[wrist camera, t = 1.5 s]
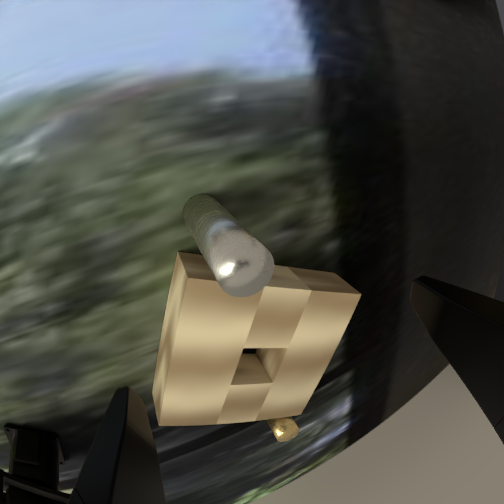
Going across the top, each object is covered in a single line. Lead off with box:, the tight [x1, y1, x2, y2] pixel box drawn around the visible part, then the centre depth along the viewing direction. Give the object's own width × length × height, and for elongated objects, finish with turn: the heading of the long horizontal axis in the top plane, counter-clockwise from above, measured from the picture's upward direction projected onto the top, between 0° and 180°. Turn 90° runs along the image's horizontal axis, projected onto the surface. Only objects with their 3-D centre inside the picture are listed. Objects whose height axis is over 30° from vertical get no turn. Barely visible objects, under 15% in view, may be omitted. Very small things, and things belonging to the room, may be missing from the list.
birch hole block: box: [152, 252, 361, 426], centre depth 25 cm, size 14×14×4 cm
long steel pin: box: [183, 194, 274, 297], centre depth 18 cm, size 3×3×9 cm
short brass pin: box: [267, 416, 299, 442], centre depth 31 cm, size 3×3×4 cm
